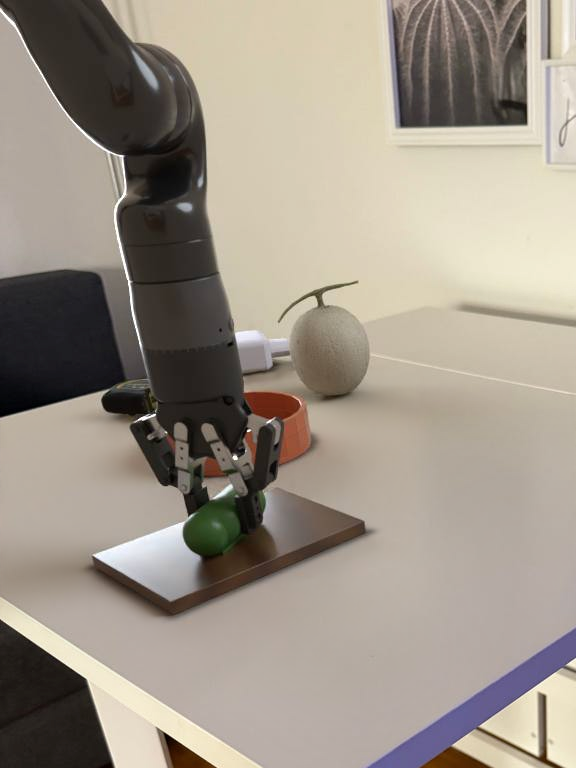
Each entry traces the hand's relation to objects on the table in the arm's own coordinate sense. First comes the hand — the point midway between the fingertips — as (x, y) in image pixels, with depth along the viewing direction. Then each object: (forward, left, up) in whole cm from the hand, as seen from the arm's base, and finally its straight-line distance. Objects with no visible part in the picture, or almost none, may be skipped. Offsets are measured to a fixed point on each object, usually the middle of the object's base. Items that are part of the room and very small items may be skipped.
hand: (228, 529), depth 84 cm
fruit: (+37, +33, -2) cm, 50 cm away
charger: (+40, +56, -2) cm, 69 cm away
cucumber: (0, 0, -1) cm, 1 cm away
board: (0, 0, -2) cm, 2 cm away
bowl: (+16, +24, -2) cm, 29 cm away
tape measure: (+16, +48, -2) cm, 51 cm away
